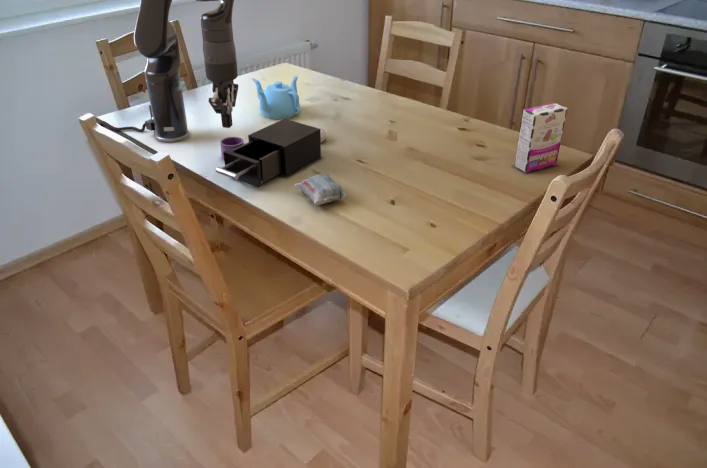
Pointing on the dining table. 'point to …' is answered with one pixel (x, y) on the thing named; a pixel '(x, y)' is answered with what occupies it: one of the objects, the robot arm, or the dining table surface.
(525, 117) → the candy bar box
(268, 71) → the dining table surface
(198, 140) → the dining table surface
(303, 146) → the cabinet
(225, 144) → the cup
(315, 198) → the packaged food
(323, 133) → the donut
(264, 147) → the drawer
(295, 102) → the teapot
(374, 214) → the dining table surface
